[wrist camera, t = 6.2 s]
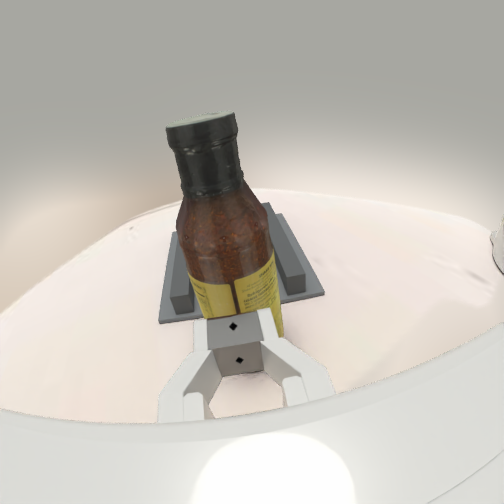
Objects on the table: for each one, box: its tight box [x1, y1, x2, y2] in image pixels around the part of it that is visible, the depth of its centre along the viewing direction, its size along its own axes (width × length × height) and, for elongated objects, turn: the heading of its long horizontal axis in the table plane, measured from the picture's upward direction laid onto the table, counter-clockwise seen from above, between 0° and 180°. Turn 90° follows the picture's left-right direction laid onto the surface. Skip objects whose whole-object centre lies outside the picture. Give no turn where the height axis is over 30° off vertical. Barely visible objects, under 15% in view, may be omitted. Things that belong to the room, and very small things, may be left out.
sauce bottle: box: [166, 111, 283, 338], centre depth 20 cm, size 7×6×20 cm
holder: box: [158, 202, 325, 324], centre depth 37 cm, size 18×20×3 cm
